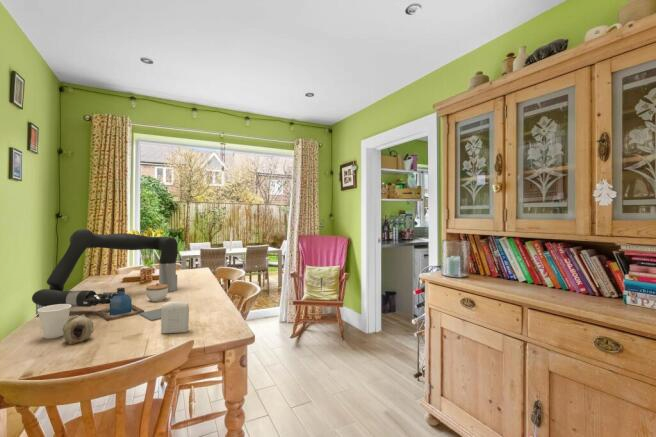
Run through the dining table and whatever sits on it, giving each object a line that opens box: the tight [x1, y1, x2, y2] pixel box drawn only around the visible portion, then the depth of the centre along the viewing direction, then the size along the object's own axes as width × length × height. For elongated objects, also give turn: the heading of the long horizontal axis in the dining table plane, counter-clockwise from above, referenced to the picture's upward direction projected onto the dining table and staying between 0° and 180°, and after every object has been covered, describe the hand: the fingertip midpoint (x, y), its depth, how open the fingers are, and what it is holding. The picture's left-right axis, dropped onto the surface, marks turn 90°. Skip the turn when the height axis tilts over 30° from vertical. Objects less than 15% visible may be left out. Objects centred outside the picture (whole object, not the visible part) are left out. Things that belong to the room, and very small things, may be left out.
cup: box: [36, 304, 72, 340], centre depth 120 cm, size 10×10×11 cm
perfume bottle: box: [108, 287, 133, 316], centre depth 148 cm, size 6×6×12 cm
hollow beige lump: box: [62, 314, 95, 345], centre depth 116 cm, size 9×8×10 cm
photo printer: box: [160, 300, 190, 334], centre depth 126 cm, size 10×4×12 cm, turn 103°
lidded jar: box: [145, 282, 169, 303], centre depth 171 cm, size 11×11×9 cm
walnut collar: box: [96, 304, 145, 322], centre depth 148 cm, size 15×15×1 cm
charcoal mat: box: [138, 307, 162, 322], centre depth 148 cm, size 14×14×1 cm
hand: (116, 298), depth 148 cm, fingers open, 8 cm apart
